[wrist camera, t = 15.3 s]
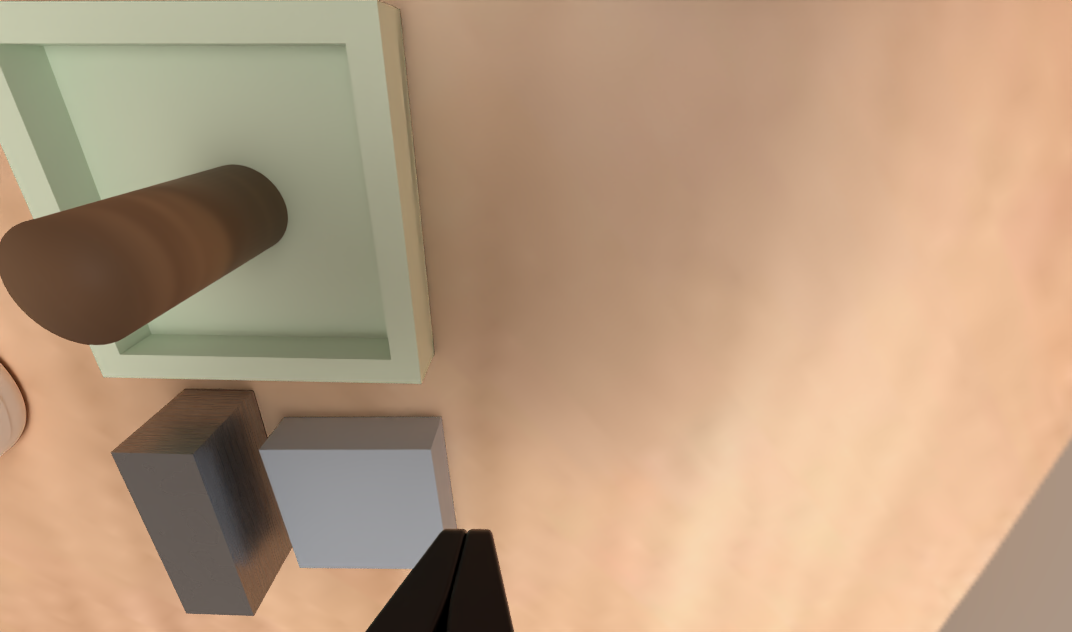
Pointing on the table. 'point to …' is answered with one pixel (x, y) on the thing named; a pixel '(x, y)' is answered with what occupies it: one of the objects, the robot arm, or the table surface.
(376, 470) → the board
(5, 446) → the pill bottle
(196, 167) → the tray
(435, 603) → the robot arm
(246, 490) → the dark gray block
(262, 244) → the dowel
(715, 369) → the table surface
